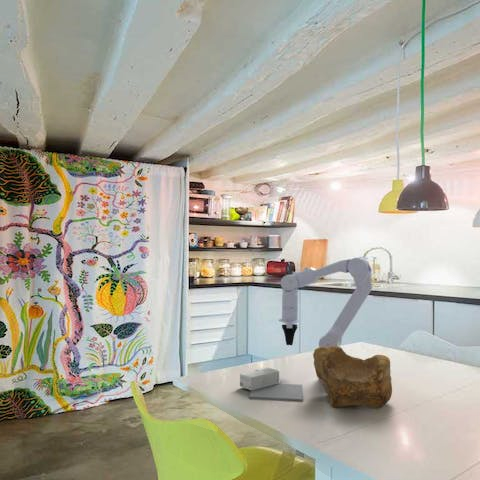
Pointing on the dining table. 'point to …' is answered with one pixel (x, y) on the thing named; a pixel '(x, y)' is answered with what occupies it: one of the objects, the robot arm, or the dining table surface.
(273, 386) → the rubber mat
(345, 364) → the rough brown rock
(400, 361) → the dining table surface
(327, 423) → the dining table surface
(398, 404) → the dining table surface
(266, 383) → the skincare box
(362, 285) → the robot arm
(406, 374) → the dining table surface
